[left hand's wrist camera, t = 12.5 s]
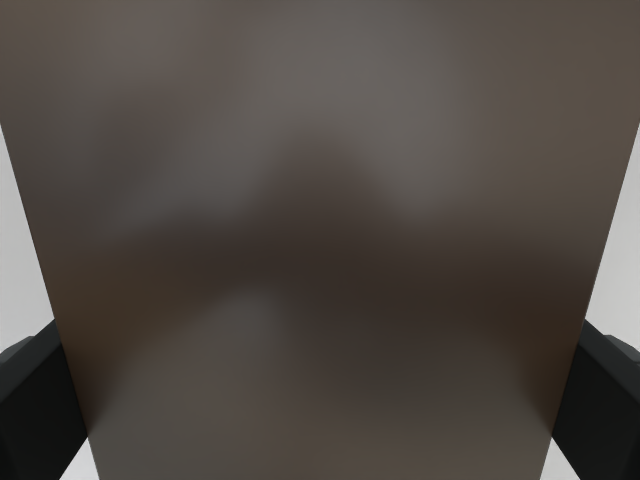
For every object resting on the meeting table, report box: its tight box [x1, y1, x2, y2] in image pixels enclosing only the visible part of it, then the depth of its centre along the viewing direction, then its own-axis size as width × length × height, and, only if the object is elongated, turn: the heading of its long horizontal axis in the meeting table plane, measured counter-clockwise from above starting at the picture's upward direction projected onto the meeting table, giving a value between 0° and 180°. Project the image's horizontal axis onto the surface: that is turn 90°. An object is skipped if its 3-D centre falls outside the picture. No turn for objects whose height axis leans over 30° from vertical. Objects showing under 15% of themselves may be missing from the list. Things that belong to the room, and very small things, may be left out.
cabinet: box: [0, 0, 640, 480], centre depth 12 cm, size 16×11×9 cm
